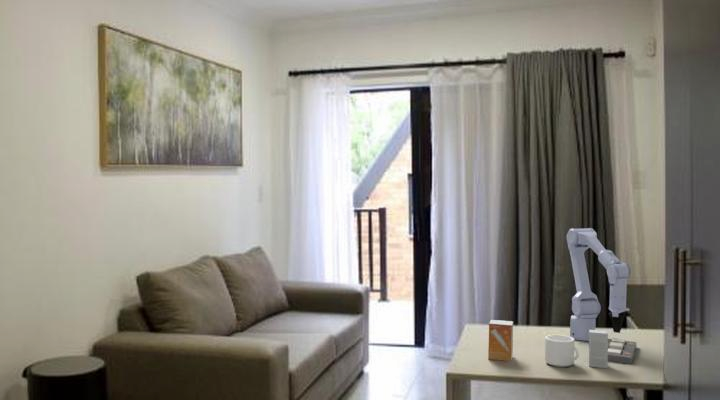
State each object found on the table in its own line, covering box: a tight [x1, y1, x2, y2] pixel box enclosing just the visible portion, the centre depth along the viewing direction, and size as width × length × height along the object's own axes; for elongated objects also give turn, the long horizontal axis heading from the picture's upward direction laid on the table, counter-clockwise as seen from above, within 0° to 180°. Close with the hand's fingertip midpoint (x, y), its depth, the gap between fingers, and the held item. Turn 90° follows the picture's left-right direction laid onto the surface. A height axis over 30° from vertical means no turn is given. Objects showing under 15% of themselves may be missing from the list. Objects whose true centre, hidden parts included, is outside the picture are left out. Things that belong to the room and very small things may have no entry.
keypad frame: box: [608, 338, 637, 365], centre depth 234 cm, size 12×23×2 cm, turn 153°
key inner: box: [611, 337, 626, 345], centre depth 241 cm, size 4×4×2 cm
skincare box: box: [588, 329, 609, 369], centre depth 219 cm, size 6×4×12 cm
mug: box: [544, 334, 579, 368], centre depth 221 cm, size 12×10×9 cm
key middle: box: [609, 342, 623, 350], centre depth 234 cm, size 4×4×2 cm
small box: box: [487, 319, 514, 362], centre depth 228 cm, size 8×6×13 cm
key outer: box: [608, 348, 621, 355], centre depth 228 cm, size 4×4×2 cm
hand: (616, 332), depth 236 cm, fingers closed
